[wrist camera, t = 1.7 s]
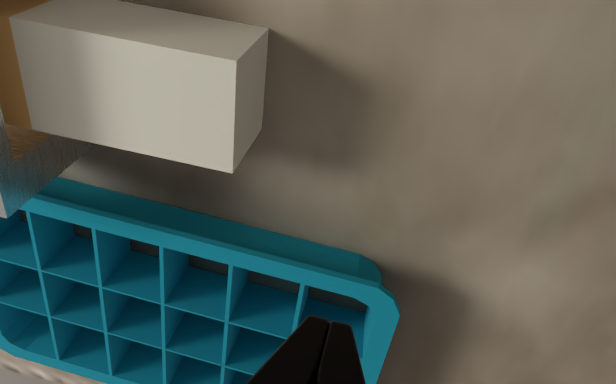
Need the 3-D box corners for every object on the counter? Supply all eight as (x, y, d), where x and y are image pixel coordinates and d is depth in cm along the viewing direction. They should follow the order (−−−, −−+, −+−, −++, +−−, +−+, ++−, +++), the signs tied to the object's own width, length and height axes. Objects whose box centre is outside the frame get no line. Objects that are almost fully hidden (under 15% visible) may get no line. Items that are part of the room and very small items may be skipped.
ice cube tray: (358, 404, 29) (350, 455, 27) (27, 310, 31) (-8, 349, 29) (411, 247, 23) (406, 295, 20) (-13, 140, 25) (-63, 173, 22)
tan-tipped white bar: (269, 28, 19) (236, 61, 16) (262, 128, 21) (232, 173, 18) (-1, -22, 20) (-76, 0, 17) (21, 78, 22) (-43, 113, 19)
